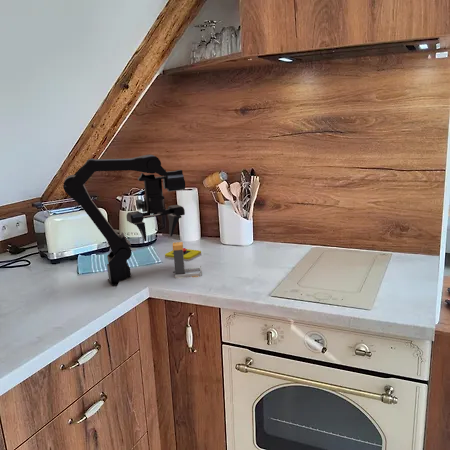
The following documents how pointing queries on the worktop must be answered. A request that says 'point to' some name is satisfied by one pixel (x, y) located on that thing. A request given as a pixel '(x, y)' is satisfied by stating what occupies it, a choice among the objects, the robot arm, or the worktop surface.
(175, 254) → the toggle
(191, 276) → the breaker panel
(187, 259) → the emergency button
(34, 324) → the worktop surface
